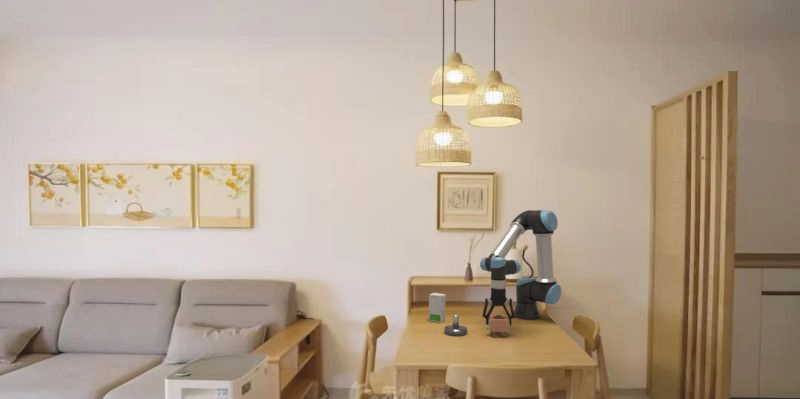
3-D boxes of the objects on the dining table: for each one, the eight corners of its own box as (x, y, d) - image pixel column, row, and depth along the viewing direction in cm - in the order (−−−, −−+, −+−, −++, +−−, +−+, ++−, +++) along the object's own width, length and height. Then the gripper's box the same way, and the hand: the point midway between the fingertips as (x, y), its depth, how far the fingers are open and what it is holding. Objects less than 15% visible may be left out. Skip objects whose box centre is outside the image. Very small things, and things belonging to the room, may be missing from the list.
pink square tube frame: (506, 327, 223) (506, 315, 223) (508, 332, 214) (508, 320, 214) (488, 326, 224) (488, 315, 224) (490, 331, 215) (490, 319, 215)
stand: (504, 333, 222) (504, 314, 222) (506, 337, 215) (506, 317, 215) (491, 332, 222) (490, 313, 223) (492, 336, 215) (492, 317, 216)
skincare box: (428, 321, 247) (428, 294, 247) (432, 318, 252) (432, 292, 253) (441, 322, 243) (441, 295, 243) (446, 320, 248) (445, 293, 249)
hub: (466, 329, 228) (466, 312, 228) (468, 336, 216) (467, 318, 216) (444, 329, 229) (444, 311, 229) (444, 336, 217) (444, 317, 218)
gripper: (518, 286, 222) (518, 329, 221) (476, 286, 224) (476, 328, 223) (521, 289, 214) (521, 333, 214) (477, 288, 216) (478, 332, 216)
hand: (498, 331), depth 219 cm, fingers closed on pink square tube frame, 9 cm apart
